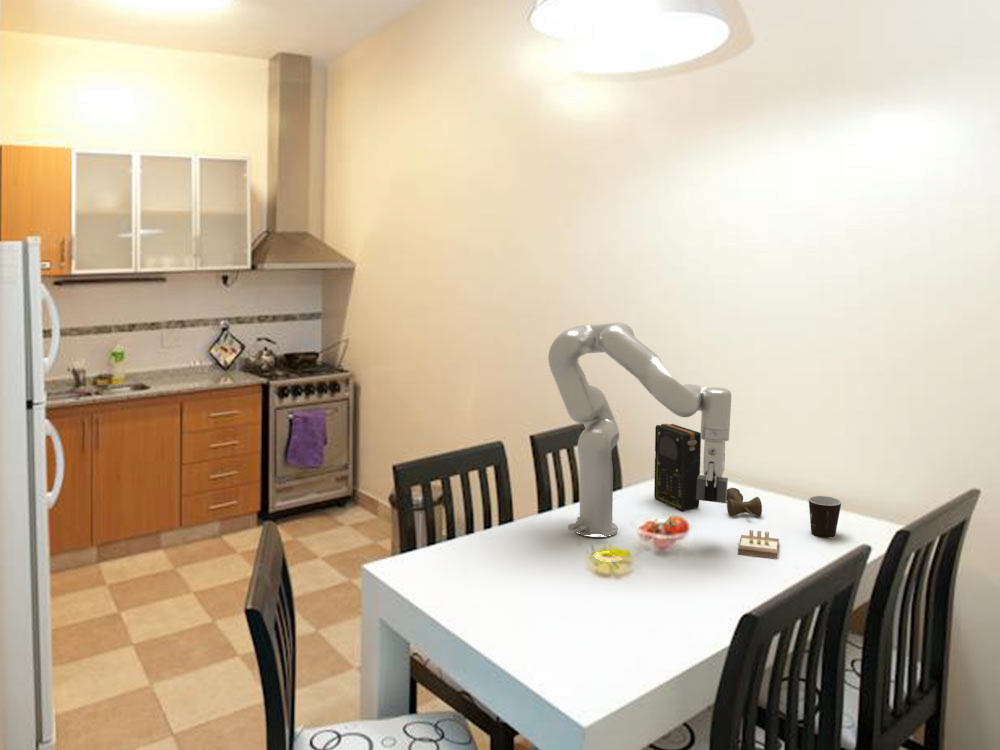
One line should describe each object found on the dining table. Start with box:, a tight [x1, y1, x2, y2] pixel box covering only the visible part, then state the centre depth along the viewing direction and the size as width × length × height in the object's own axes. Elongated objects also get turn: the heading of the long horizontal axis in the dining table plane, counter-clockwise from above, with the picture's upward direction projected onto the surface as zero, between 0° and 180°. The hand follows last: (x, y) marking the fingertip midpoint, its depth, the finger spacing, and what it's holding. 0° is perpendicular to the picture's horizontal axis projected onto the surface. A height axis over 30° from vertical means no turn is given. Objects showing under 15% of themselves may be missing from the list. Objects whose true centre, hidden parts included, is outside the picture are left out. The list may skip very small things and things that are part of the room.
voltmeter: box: [653, 423, 702, 512], centre depth 253 cm, size 16×9×25 cm, turn 25°
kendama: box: [726, 487, 763, 518], centre depth 247 cm, size 6×10×20 cm
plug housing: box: [696, 474, 729, 504], centre depth 218 cm, size 4×8×6 cm, turn 69°
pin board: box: [737, 529, 780, 559], centre depth 216 cm, size 11×10×5 cm
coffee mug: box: [808, 495, 842, 539], centre depth 225 cm, size 12×9×10 cm
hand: (711, 497), depth 219 cm, fingers closed on plug housing, 4 cm apart
